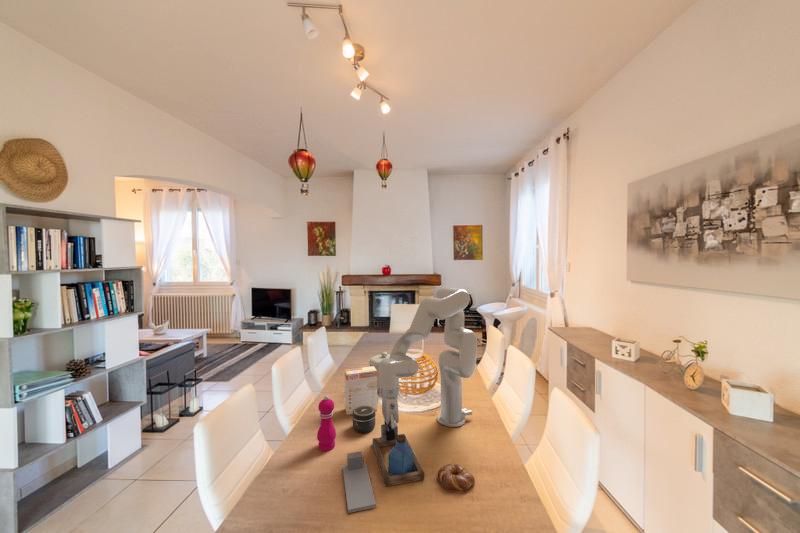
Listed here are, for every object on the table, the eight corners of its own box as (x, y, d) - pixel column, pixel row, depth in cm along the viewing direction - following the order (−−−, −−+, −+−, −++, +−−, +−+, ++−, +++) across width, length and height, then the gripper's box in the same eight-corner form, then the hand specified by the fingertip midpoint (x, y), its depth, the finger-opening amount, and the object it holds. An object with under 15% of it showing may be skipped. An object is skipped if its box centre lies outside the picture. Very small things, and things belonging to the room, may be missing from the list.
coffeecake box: (374, 404, 159) (374, 365, 158) (377, 410, 152) (377, 370, 152) (344, 408, 154) (344, 369, 154) (346, 415, 147) (346, 374, 147)
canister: (372, 382, 188) (372, 346, 187) (402, 383, 185) (402, 347, 185) (364, 395, 170) (364, 356, 169) (398, 396, 167) (397, 357, 167)
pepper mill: (339, 443, 125) (339, 393, 125) (329, 453, 118) (329, 400, 118) (323, 439, 127) (323, 390, 127) (313, 450, 120) (312, 398, 120)
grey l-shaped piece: (365, 464, 111) (365, 450, 111) (375, 507, 92) (375, 490, 92) (342, 468, 109) (342, 454, 109) (348, 513, 90) (348, 495, 90)
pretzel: (474, 473, 107) (475, 463, 107) (474, 497, 97) (474, 485, 96) (439, 467, 110) (439, 457, 110) (435, 489, 99) (435, 478, 99)
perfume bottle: (403, 480, 103) (403, 444, 103) (388, 473, 107) (388, 438, 107) (413, 470, 109) (413, 435, 108) (399, 463, 112) (398, 430, 112)
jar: (347, 430, 134) (347, 412, 134) (361, 420, 143) (361, 403, 143) (367, 436, 130) (367, 418, 129) (379, 425, 138) (379, 408, 138)
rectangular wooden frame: (404, 438, 127) (404, 421, 127) (424, 479, 104) (424, 458, 104) (372, 443, 124) (372, 425, 124) (385, 486, 100) (385, 464, 100)
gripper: (403, 398, 117) (404, 447, 117) (393, 382, 133) (393, 425, 133) (384, 401, 115) (384, 450, 115) (376, 384, 131) (376, 428, 131)
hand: (389, 436), depth 124 cm, fingers closed on rectangular wooden frame, 3 cm apart
